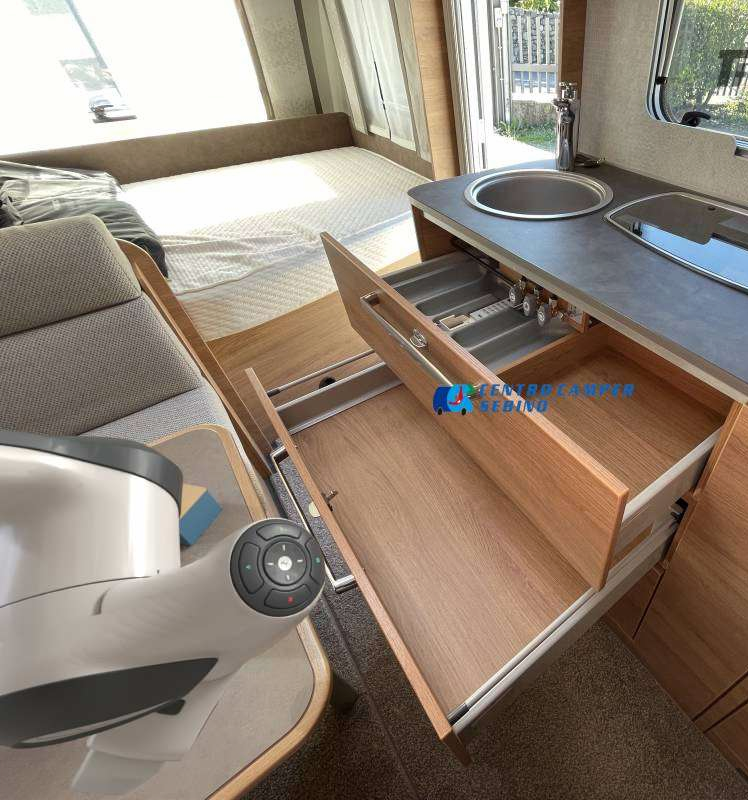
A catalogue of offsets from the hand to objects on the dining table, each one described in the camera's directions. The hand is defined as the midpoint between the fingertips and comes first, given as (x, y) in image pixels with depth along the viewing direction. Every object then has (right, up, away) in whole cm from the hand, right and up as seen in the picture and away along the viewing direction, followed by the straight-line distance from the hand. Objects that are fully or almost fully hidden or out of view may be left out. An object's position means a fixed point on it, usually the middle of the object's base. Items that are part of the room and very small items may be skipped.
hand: (156, 669), depth 45 cm
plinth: (-18, +7, +28) cm, 34 cm away
